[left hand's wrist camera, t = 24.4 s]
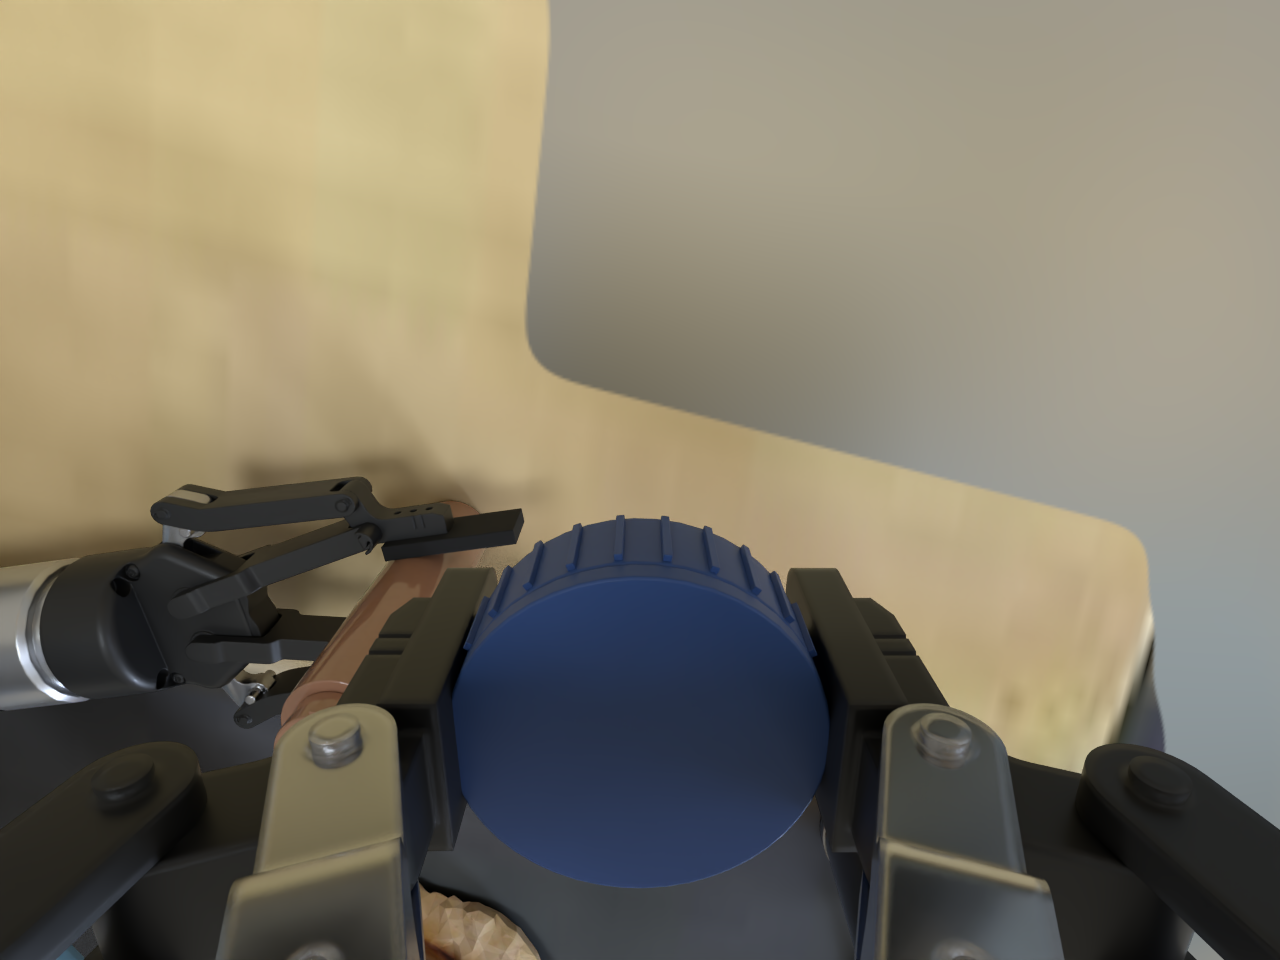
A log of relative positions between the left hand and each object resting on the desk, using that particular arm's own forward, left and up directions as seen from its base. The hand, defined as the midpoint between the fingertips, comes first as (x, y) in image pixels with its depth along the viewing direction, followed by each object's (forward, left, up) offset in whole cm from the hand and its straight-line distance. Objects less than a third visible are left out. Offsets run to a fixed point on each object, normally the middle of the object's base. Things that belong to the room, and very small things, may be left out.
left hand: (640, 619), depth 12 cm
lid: (0, 0, +3) cm, 3 cm away
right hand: (-9, +9, -23) cm, 26 cm away
